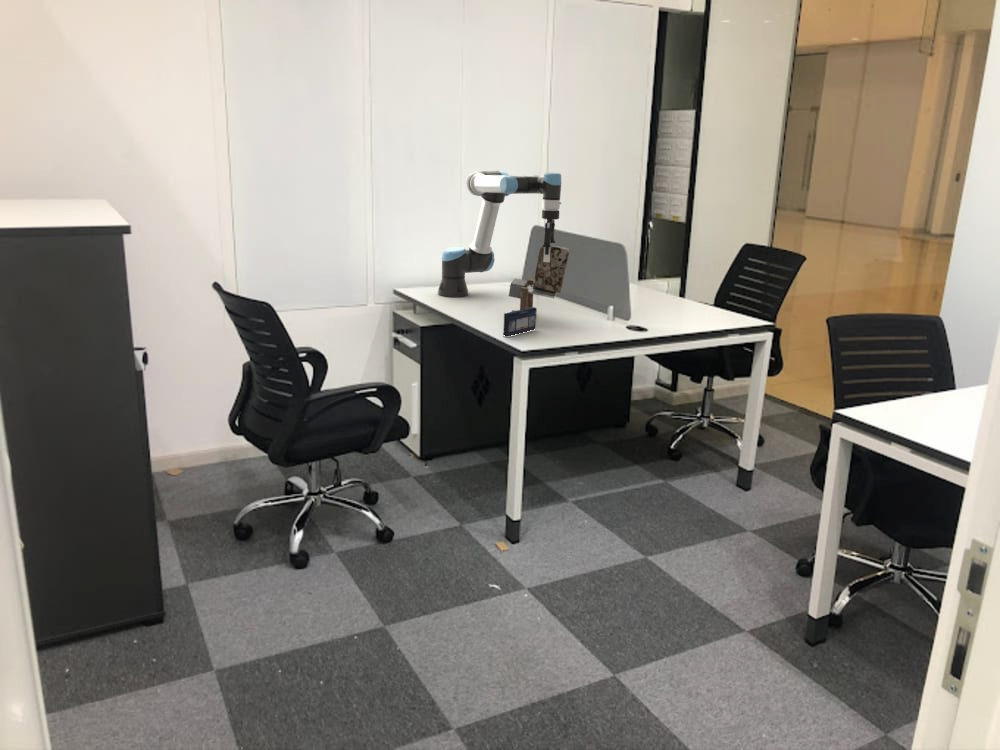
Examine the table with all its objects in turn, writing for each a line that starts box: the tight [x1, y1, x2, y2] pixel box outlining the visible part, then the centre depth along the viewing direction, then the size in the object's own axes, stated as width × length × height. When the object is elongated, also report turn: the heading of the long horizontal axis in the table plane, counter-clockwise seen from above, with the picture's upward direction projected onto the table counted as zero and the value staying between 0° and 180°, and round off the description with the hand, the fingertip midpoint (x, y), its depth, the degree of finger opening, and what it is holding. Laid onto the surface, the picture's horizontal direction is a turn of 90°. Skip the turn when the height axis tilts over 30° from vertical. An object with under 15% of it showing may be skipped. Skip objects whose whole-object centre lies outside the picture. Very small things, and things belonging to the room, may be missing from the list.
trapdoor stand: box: [511, 278, 535, 312], centre depth 358 cm, size 11×24×16 cm, turn 170°
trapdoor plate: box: [508, 277, 558, 300], centre depth 356 cm, size 20×16×6 cm
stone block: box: [533, 243, 570, 294], centre depth 354 cm, size 13×7×20 cm, turn 87°
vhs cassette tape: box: [502, 306, 538, 336], centre depth 333 cm, size 18×3×10 cm, turn 137°
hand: (548, 259), depth 351 cm, fingers open, 11 cm apart
